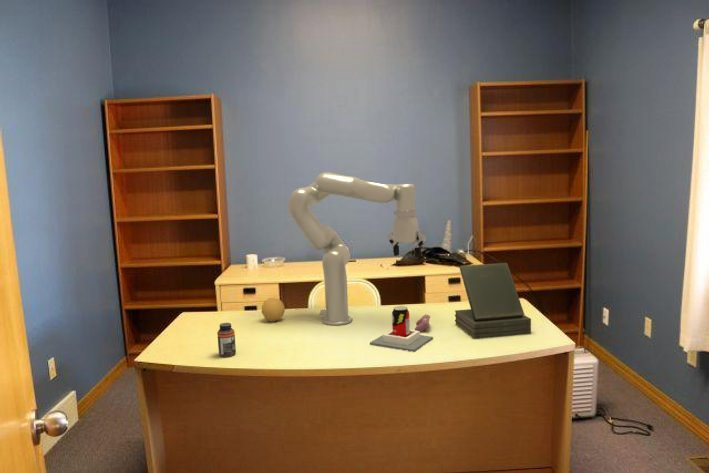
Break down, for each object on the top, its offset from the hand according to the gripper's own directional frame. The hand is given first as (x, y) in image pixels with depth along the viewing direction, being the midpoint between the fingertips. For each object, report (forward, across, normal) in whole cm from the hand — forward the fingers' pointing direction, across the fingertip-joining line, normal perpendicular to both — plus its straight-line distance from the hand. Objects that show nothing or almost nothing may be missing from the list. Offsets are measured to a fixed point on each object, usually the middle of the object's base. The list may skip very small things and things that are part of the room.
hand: (406, 256), depth 214 cm
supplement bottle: (+28, -39, -64) cm, 80 cm away
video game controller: (+28, +9, -5) cm, 30 cm away
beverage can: (+27, +9, -23) cm, 37 cm away
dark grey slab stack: (+28, +33, +7) cm, 44 cm away
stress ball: (+28, -54, -23) cm, 65 cm away
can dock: (+28, +9, -23) cm, 37 cm away
